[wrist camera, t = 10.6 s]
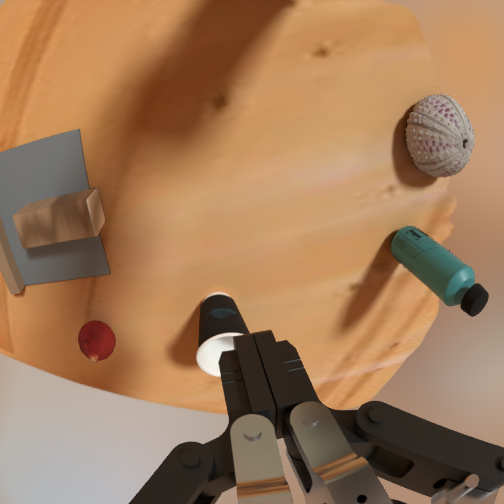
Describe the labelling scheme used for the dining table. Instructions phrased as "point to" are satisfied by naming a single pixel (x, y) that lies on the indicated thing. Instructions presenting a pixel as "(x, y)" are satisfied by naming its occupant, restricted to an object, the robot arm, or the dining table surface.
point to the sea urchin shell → (439, 136)
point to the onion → (96, 340)
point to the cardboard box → (60, 219)
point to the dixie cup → (217, 330)
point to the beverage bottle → (439, 270)
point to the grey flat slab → (38, 188)
